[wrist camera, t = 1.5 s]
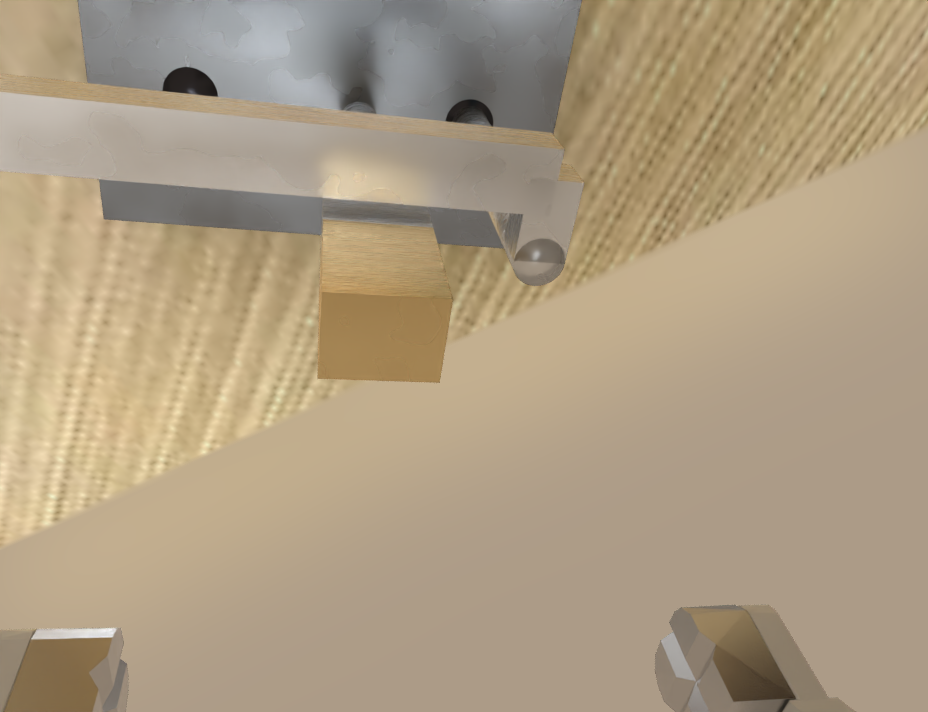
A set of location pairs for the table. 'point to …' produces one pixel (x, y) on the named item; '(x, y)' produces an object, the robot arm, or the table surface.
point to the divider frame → (300, 156)
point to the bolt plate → (329, 80)
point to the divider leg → (380, 291)
